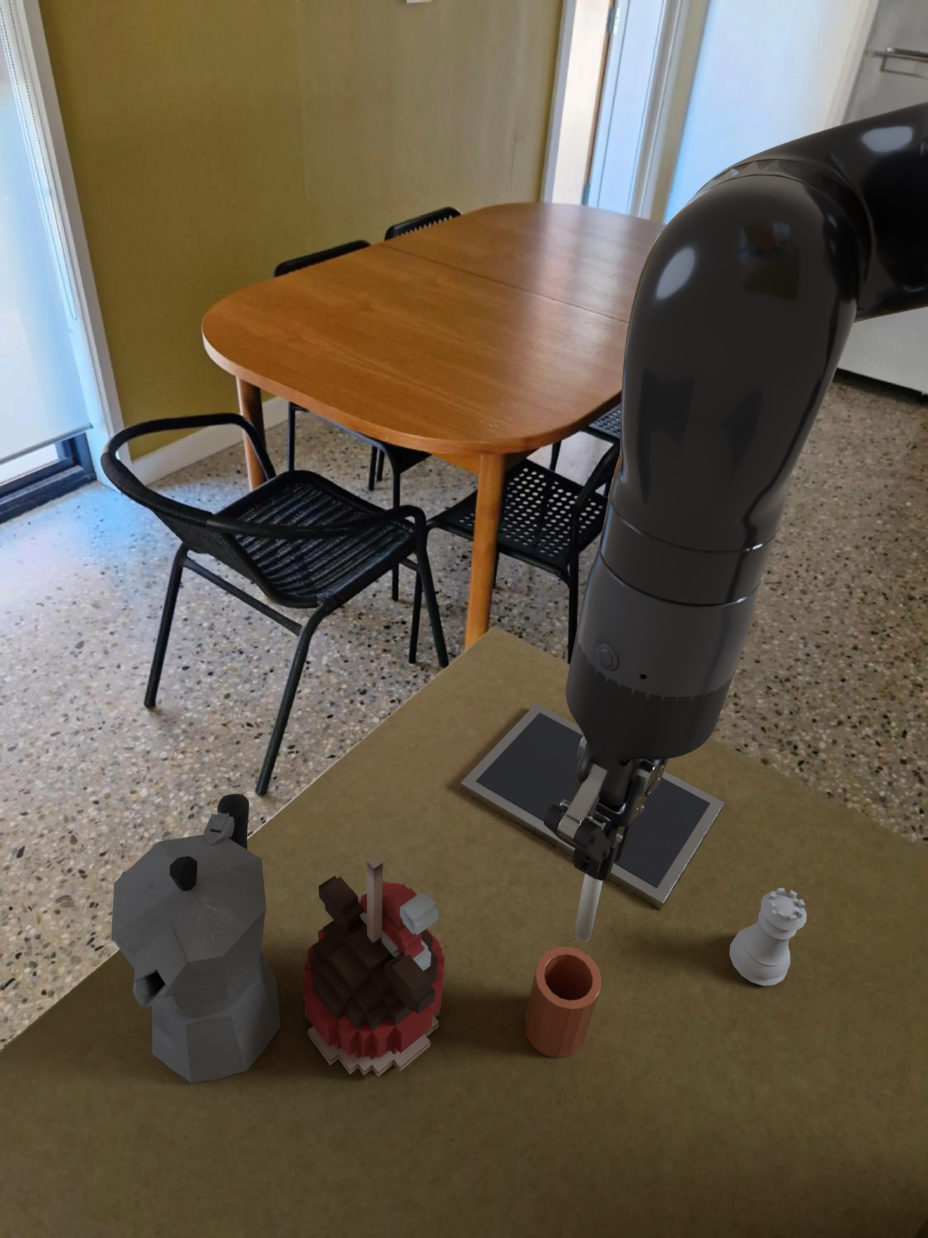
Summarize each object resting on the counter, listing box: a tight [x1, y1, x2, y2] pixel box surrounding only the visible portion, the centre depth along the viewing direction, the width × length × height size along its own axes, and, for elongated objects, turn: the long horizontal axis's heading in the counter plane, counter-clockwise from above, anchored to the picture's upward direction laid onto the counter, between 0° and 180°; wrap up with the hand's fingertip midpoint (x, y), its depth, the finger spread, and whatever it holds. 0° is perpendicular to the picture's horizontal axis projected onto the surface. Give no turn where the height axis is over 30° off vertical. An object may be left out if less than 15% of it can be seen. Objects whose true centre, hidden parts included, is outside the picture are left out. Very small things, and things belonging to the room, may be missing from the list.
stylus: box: [573, 812, 610, 943], centre depth 53 cm, size 1×1×13 cm
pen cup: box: [523, 945, 602, 1059], centre depth 62 cm, size 4×4×7 cm
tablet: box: [459, 703, 725, 910], centre depth 80 cm, size 20×13×1 cm, turn 55°
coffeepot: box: [110, 793, 282, 1084], centre depth 58 cm, size 15×9×18 cm, turn 172°
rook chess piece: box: [729, 887, 807, 987], centre depth 66 cm, size 4×4×8 cm
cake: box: [301, 855, 446, 1078], centre depth 58 cm, size 11×9×18 cm
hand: (597, 859), depth 52 cm, fingers closed on stylus, 1 cm apart
